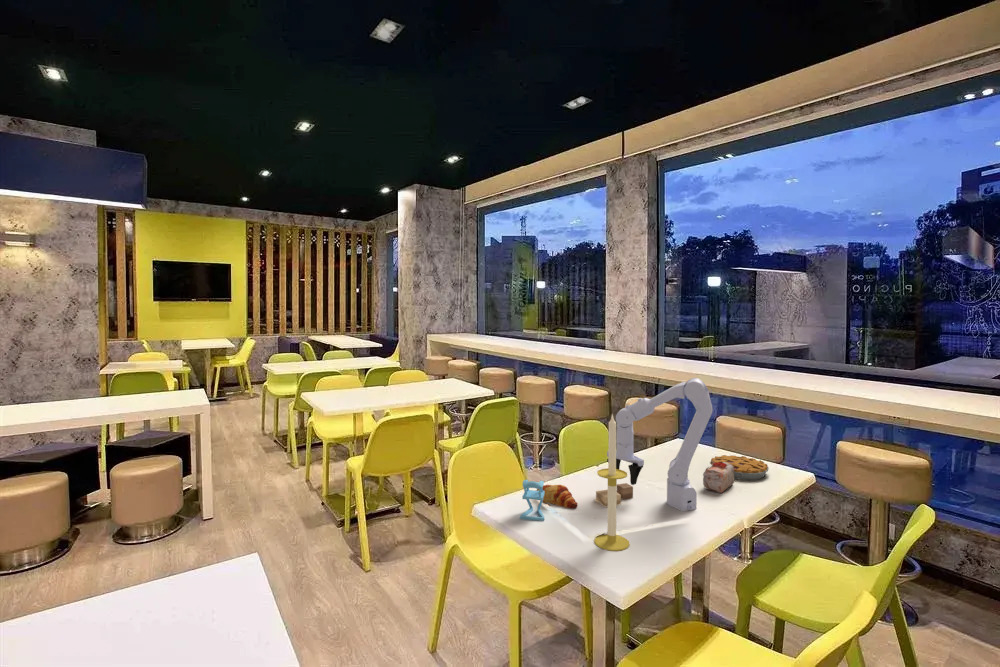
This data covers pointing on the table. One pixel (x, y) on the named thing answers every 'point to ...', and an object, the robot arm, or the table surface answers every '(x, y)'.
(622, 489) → the walnut block
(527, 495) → the chair
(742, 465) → the pie
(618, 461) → the robot arm
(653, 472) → the table surface
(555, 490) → the croissant
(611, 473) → the candle
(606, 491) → the oak base
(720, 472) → the food item
